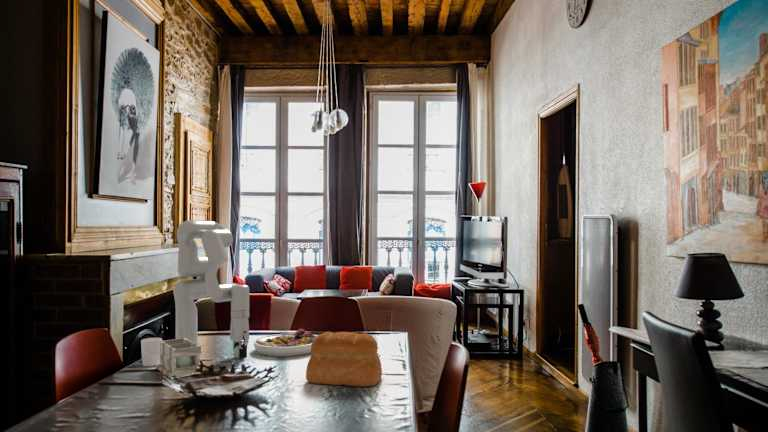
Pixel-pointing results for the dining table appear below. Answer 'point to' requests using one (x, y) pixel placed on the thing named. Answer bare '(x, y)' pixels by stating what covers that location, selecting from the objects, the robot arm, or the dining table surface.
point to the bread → (344, 360)
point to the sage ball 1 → (183, 362)
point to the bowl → (285, 344)
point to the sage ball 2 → (236, 351)
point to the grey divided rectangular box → (175, 350)
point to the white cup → (150, 351)
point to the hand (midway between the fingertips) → (240, 356)
